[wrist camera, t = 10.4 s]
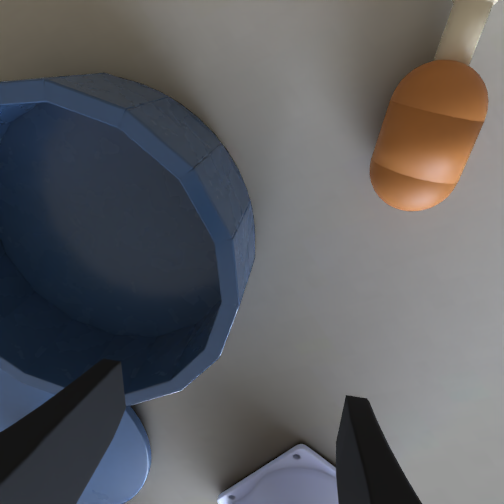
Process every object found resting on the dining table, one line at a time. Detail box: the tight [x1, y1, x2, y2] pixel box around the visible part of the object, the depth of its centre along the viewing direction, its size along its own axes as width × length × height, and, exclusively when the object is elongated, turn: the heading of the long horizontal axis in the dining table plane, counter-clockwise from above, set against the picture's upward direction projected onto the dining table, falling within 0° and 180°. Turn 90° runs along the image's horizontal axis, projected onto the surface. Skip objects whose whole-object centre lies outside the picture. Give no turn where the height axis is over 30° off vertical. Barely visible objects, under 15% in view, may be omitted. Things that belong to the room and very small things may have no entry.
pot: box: [0, 73, 255, 406], centre depth 20 cm, size 16×16×5 cm
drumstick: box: [370, 0, 498, 211], centre depth 16 cm, size 10×4×4 cm, turn 169°
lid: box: [0, 369, 151, 504], centre depth 29 cm, size 17×17×5 cm
